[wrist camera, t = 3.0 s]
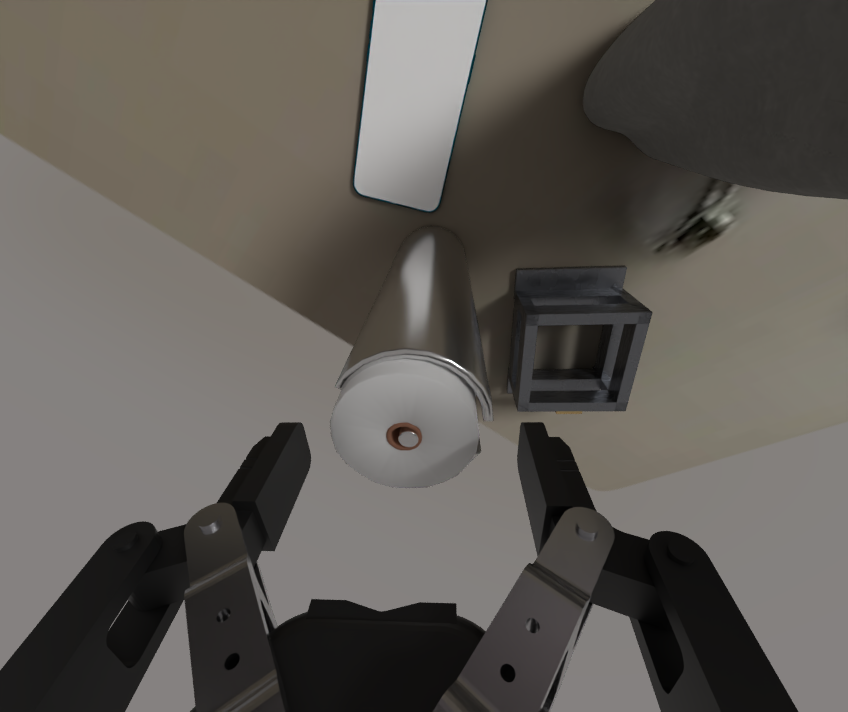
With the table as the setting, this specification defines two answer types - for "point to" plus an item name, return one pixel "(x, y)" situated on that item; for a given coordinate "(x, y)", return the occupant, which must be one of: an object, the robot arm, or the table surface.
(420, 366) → the silver metal cylinder
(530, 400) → the collar bracket
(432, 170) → the smartphone
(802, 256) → the table surface
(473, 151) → the table surface
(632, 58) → the vase
